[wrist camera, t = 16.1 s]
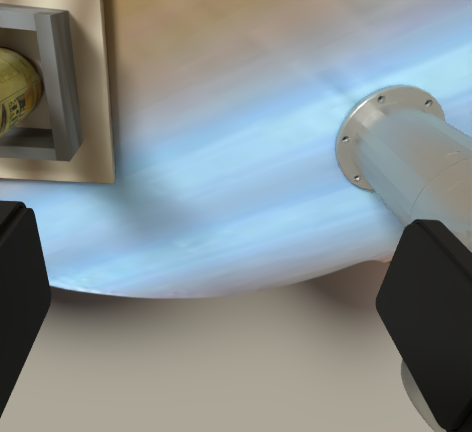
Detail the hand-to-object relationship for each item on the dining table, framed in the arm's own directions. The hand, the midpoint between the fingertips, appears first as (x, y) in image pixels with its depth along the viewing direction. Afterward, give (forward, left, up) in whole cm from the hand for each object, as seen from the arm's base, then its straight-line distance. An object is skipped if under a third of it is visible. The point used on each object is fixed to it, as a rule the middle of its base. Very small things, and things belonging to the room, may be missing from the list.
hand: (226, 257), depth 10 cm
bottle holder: (+18, +4, -33) cm, 38 cm away
